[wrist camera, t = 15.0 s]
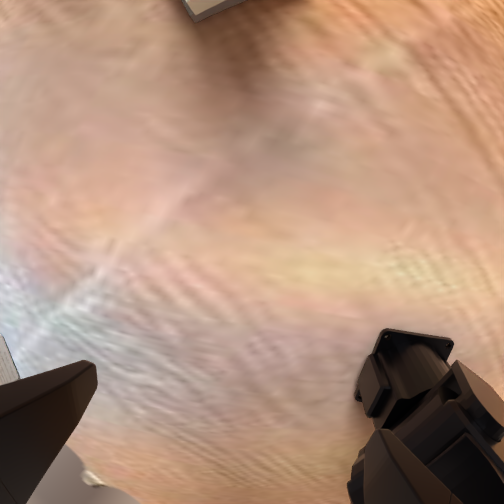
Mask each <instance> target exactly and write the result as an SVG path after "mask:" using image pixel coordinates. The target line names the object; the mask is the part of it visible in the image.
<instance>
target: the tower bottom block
mask: <svg viewBox="0 0 504 504" xmlns="http://www.w3.org/2000/svg"><path fill="white" fill-rule="evenodd" d="M181 1H182V2H183V4H184V6H185V8H186V10H187V12H188V13H189V15H190V17H191V18H192V20H193V21H194V22H195V23H197V22H199V21H201V20H203V19H205V18H207V17H209V16H211V15H214V14H216V13H218V12H220V11H222V10H225V9H227V8H229V7H232V6H234V5H237V4H239V3H241V2H244V1H247V0H225V1H223V2H221V3H219V4H217V5H215V6H213V7H211V8H209V9H207V10H205V11H203V12H201V13H199V14H197V15H195V14H194V13H193V11H192V10H191V8H190V7H189V5H188V4H187V2H186V1H185V0H181Z"/></svg>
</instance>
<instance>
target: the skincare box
mask: <svg viewBox="0 0 504 504" xmlns="http://www.w3.org/2000/svg"><path fill="white" fill-rule="evenodd" d="M18 378H19V376H18V374H17V371H16V369H15V366H14V364H13V361H12V359H11V356H10V354H9V351H8V349H7V346H6V343H5V341H4V338H3V336H2V335H1V334H0V385H3V384H6V383H10V382H13V381H16V380H17V379H18Z"/></svg>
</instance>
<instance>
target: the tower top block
mask: <svg viewBox="0 0 504 504" xmlns="http://www.w3.org/2000/svg"><path fill="white" fill-rule="evenodd" d="M185 1H186V2H187V4H188V5H189V7H190V8H191V10H192V11H193V13H194V14H195V15H197V14H199V13H201V12H203V11H205V10H207V9H209V8H211V7H213V6H215V5H217V4H219V3H221V2H223V1H225V0H185Z"/></svg>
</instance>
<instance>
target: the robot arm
mask: <svg viewBox="0 0 504 504" xmlns="http://www.w3.org/2000/svg"><path fill="white" fill-rule="evenodd" d="M386 334H389V336H388V337H387V338H385V337H384V336H385V335H386ZM448 343H449V345H448V346H446V345H447V344H448ZM453 346H454V342H453V341H452V340H451V339H450V338H446V337H439V336H433V335H426V334H420V333H413V332H407V331H401V330H395V329H389V328H386V329H383V330H382V331H381V333H380V335H379V338H378V340H377V343H376V345H375V348H374V350H373V353H372V354H370V355H369V356H368V358H367V360H366V363H365V365H364V368H363V370H362V372H361V375H360V377H359V379H358V387H357V390H356V392H355V399H356V400H357V401H359V402H363V406H364V410H365V414H366V416H367V417H368V418H372V419H373V423H374V427H375V431H374V433H373V435H372V436H371V438H370V439H369V441H368V443H367V444H366V446H365V447H364V448H362V449H361V450H360V451H359V455H358V458H357V459H356V461H355V463H354V464H353V466H352V473H351V480H350V481H348V482H347V490H348V494H349V498H350V501H351V504H504V401H503V400H502V399H501V398H500V397H499V395H498V394H497V393H496V392H495V391H494V389H493V388H492V387H491V386H490V385H489V384H488V383H486V382H485V381H484V380H483V379H481V378H480V377H479V376H478V375H476V374H475V373H474V372H472V371H471V370H470V369H469V368H467V367H466V366H465V365H463V364H462V363H461V362H460V361H458V360H456V361H455V362H454V363H453V364H452V365H451V366H450V365H449V363H448V362H447V359H448V357H449V355H450V353H451V350H452V348H453ZM97 385H98V381H97V371H96V365H95V364H94V363H92V362H89V361H87V360H81V361H78V362H75V363H72V364H69V365H66V366H63V367H59V368H56V369H53V370H50V371H47V372H43V373H40V374H37V375H34V376H30V377H27V378H24V379H20V380H17V381H13V382H10V383H6V384H3V385H0V504H26V503H27V501H28V500H29V498H30V496H31V495H32V493H33V492H34V490H35V488H36V487H37V485H38V484H39V482H40V481H41V479H42V478H43V476H44V474H45V473H46V471H47V470H48V468H49V467H50V465H51V463H52V462H53V460H54V459H55V458H56V456H57V455H58V453H59V452H60V450H61V449H62V447H63V446H64V444H65V443H66V441H67V440H68V438H69V437H70V435H71V434H72V432H73V431H74V429H75V428H76V426H77V425H78V423H79V421H80V420H81V418H82V416H83V414H84V412H85V410H86V408H87V406H88V404H89V402H90V400H91V398H92V397H93V395H94V393H95V391H96V389H97ZM359 395H361V396H359Z"/></svg>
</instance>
